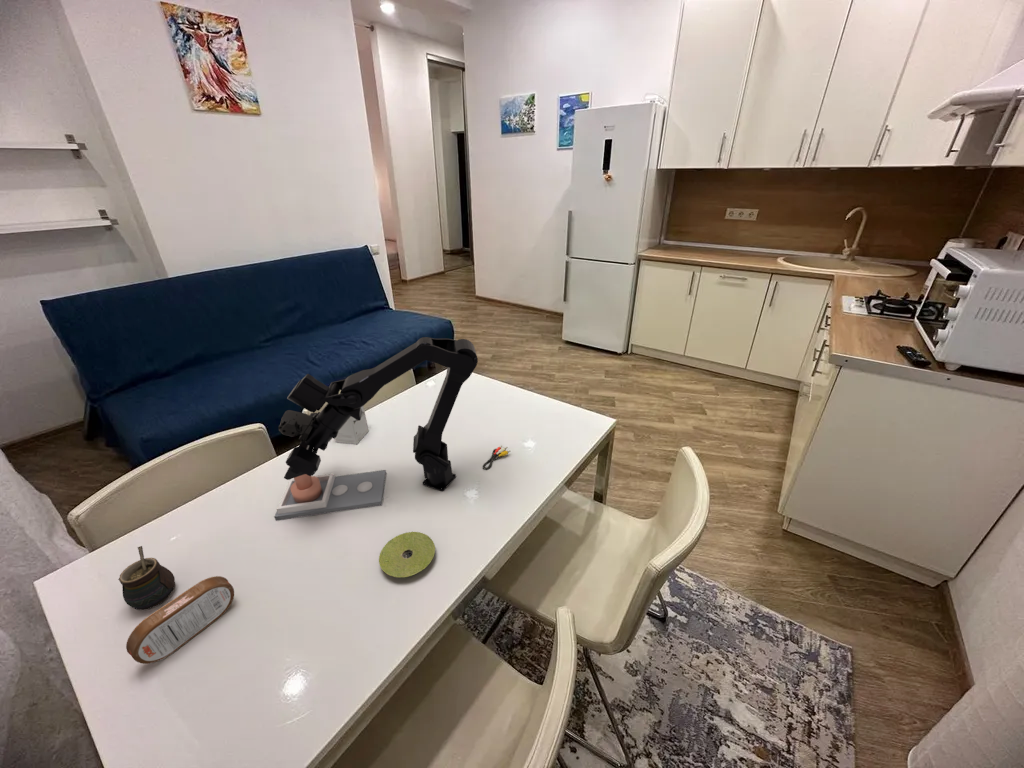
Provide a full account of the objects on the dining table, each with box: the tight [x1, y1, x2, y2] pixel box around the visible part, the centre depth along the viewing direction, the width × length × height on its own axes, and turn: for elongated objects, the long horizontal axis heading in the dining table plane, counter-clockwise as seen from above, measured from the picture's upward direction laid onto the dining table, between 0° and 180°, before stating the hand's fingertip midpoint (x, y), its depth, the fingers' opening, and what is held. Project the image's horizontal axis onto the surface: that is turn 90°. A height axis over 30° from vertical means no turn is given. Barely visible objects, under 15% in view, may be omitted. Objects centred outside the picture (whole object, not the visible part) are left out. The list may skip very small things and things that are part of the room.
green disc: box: [378, 531, 436, 578], centre depth 84 cm, size 11×11×2 cm
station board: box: [273, 469, 387, 521], centre depth 101 cm, size 24×12×3 cm, turn 101°
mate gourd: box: [117, 545, 176, 611], centre depth 75 cm, size 7×8×10 cm
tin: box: [125, 575, 235, 665], centre depth 70 cm, size 15×3×8 cm, turn 147°
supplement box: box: [334, 405, 370, 445], centre depth 121 cm, size 7×7×13 cm
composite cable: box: [482, 445, 511, 471], centre depth 113 cm, size 10×5×2 cm, turn 138°
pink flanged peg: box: [291, 474, 322, 503], centre depth 98 cm, size 6×6×9 cm
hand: (291, 465), depth 96 cm, fingers open, 9 cm apart
